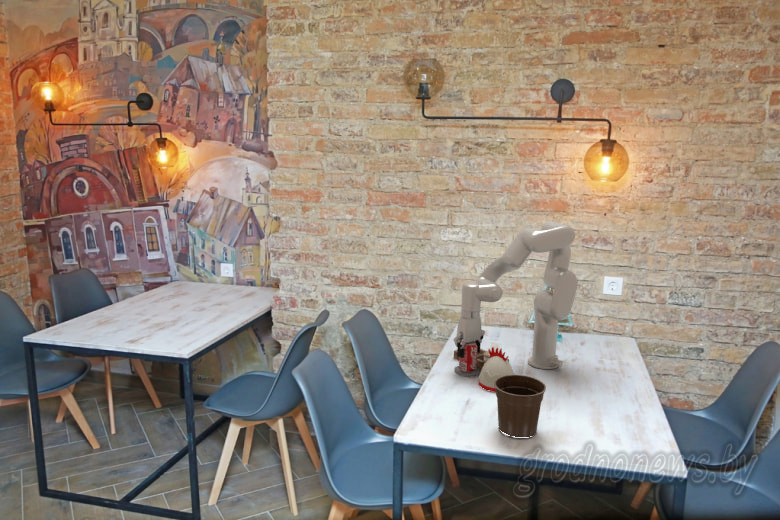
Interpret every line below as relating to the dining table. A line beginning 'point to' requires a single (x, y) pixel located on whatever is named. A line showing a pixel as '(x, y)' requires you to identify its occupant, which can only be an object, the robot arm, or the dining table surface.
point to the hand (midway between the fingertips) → (468, 354)
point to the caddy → (479, 358)
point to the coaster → (474, 373)
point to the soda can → (469, 357)
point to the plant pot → (519, 404)
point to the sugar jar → (486, 356)
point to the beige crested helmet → (494, 369)
